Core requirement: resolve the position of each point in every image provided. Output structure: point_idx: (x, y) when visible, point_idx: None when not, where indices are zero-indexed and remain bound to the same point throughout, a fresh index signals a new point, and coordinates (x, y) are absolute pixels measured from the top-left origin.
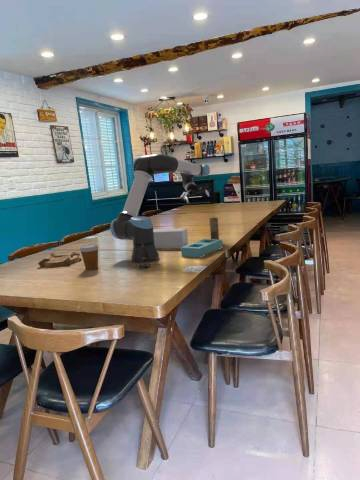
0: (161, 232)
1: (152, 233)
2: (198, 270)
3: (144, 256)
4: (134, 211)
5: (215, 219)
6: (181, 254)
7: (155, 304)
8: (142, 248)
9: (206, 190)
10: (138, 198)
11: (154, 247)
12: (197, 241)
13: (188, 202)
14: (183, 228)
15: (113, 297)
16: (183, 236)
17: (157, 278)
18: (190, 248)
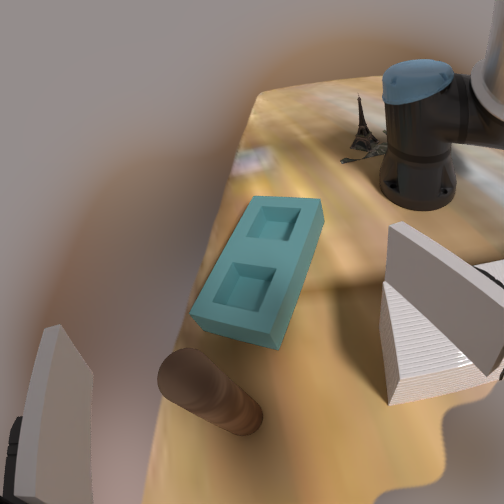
0: (490, 264)
1: (387, 119)
2: (242, 156)
3: (359, 122)
4: (483, 66)
5: (173, 356)
6: (323, 217)
7: (264, 93)
8: (360, 105)
9: (27, 431)
10: (491, 25)
11: (386, 158)
12: (289, 280)
13: (389, 273)
14: (419, 363)
15: (320, 87)
16: (384, 315)
17: (300, 121)
18: (283, 198)
